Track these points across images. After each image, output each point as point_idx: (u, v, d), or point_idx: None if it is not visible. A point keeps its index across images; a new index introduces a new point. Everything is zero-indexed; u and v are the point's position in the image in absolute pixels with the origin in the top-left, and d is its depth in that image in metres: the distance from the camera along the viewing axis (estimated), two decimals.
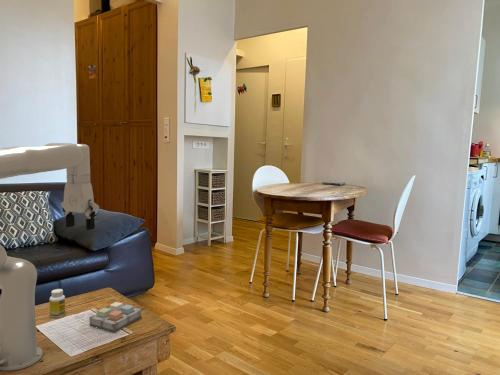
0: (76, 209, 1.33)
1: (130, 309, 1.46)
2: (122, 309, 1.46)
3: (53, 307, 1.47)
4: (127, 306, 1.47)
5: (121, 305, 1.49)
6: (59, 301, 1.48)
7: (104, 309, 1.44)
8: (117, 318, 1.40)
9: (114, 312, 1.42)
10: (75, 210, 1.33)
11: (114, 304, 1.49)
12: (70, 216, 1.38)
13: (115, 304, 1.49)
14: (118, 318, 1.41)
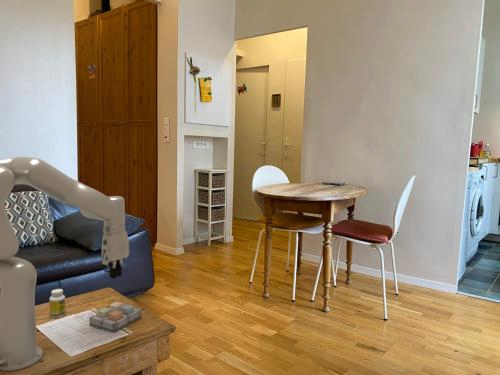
0: (123, 255, 1.47)
1: (130, 309, 1.46)
2: (122, 309, 1.46)
3: (53, 307, 1.47)
4: (127, 306, 1.47)
5: (121, 305, 1.49)
6: (59, 301, 1.48)
7: (104, 309, 1.44)
8: (117, 318, 1.40)
9: (114, 312, 1.42)
10: (123, 256, 1.47)
11: (114, 304, 1.49)
12: None
13: (115, 304, 1.49)
14: (118, 318, 1.41)
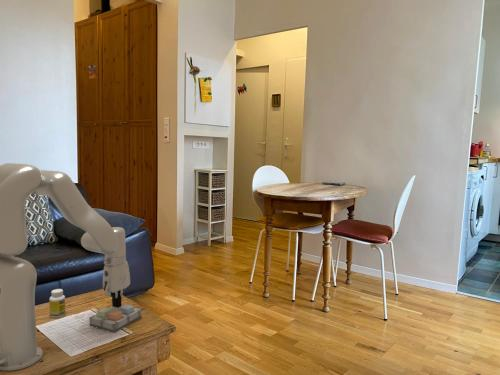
0: (125, 285, 1.49)
1: (130, 309, 1.46)
2: (122, 309, 1.46)
3: (53, 307, 1.47)
4: (127, 306, 1.47)
5: None
6: (59, 301, 1.48)
7: (104, 309, 1.44)
8: (117, 318, 1.40)
9: (114, 312, 1.42)
10: (124, 286, 1.48)
11: None
12: None
13: None
14: (118, 318, 1.41)
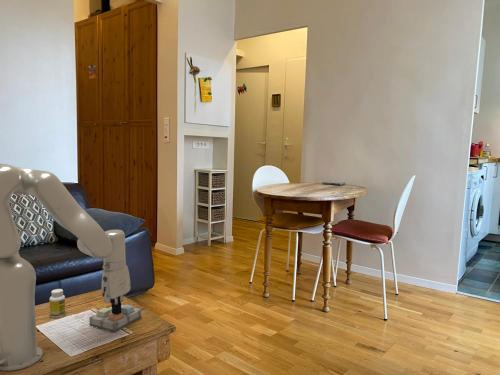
0: (125, 290, 1.41)
1: (130, 309, 1.46)
2: (122, 309, 1.46)
3: (53, 307, 1.47)
4: (127, 306, 1.47)
5: None
6: (59, 301, 1.48)
7: (104, 309, 1.44)
8: (117, 318, 1.40)
9: None
10: (124, 292, 1.41)
11: None
12: None
13: None
14: (118, 319, 1.41)
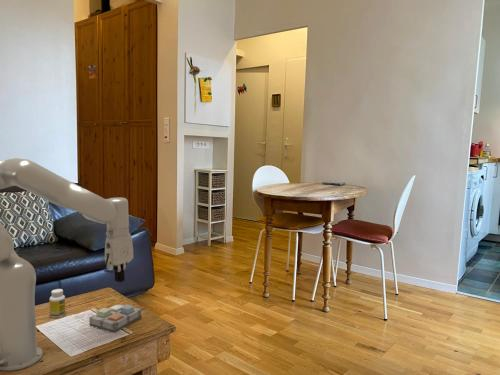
0: (128, 258, 1.41)
1: (130, 309, 1.46)
2: (122, 309, 1.46)
3: (53, 307, 1.47)
4: (127, 306, 1.47)
5: None
6: (59, 301, 1.48)
7: (104, 309, 1.44)
8: None
9: (114, 315, 1.42)
10: (127, 260, 1.41)
11: (114, 307, 1.49)
12: None
13: (115, 307, 1.49)
14: None
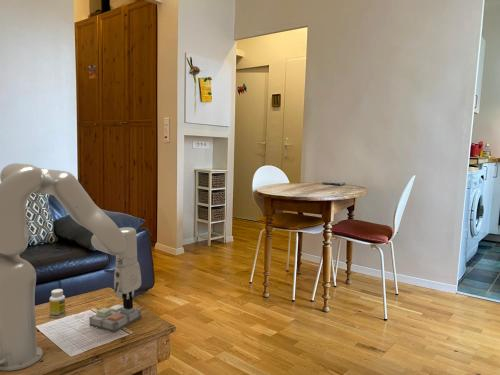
0: (136, 286, 1.46)
1: (130, 310, 1.46)
2: (122, 310, 1.46)
3: (53, 307, 1.47)
4: None
5: (121, 308, 1.49)
6: (59, 301, 1.48)
7: (104, 309, 1.44)
8: None
9: (114, 315, 1.42)
10: (135, 287, 1.46)
11: (114, 307, 1.49)
12: None
13: (115, 307, 1.49)
14: None
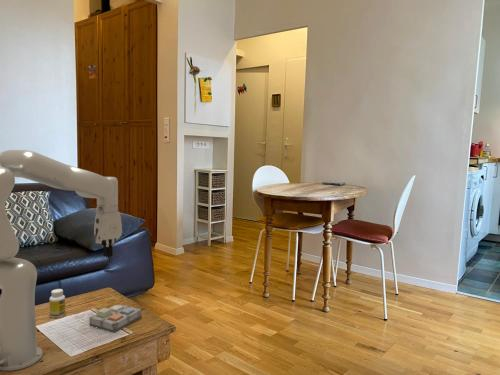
0: (116, 234, 1.49)
1: (130, 312, 1.46)
2: (122, 312, 1.46)
3: (53, 307, 1.47)
4: (127, 309, 1.47)
5: (121, 308, 1.49)
6: (59, 301, 1.48)
7: (104, 309, 1.44)
8: None
9: (114, 315, 1.42)
10: (115, 236, 1.49)
11: (114, 307, 1.49)
12: None
13: (115, 307, 1.49)
14: None
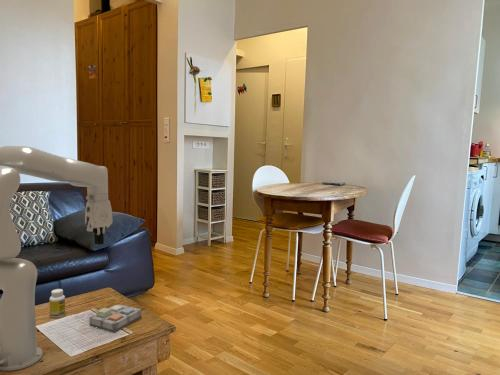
0: (107, 222, 1.52)
1: (130, 312, 1.46)
2: (122, 312, 1.46)
3: (53, 307, 1.47)
4: (127, 309, 1.47)
5: (121, 308, 1.49)
6: (59, 301, 1.48)
7: (104, 309, 1.44)
8: None
9: (114, 315, 1.42)
10: (106, 224, 1.52)
11: (114, 307, 1.49)
12: None
13: (115, 307, 1.49)
14: None
